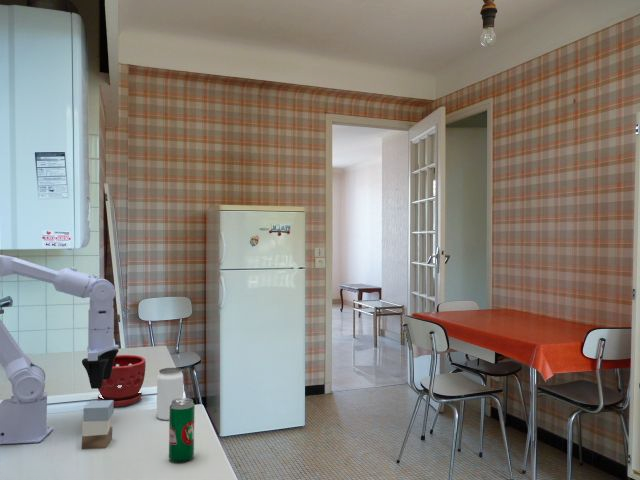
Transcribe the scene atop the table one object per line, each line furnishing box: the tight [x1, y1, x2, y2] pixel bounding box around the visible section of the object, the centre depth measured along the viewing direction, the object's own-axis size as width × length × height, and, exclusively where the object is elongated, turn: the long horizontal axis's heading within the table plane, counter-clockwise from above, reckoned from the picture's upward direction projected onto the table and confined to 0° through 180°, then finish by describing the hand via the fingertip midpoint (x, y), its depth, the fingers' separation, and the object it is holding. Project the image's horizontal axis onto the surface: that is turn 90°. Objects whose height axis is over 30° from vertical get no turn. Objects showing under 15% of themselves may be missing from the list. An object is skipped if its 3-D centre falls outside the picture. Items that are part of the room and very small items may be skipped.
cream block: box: [81, 416, 112, 437], centre depth 109 cm, size 5×5×3 cm
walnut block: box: [81, 426, 113, 450], centre depth 109 cm, size 5×5×3 cm
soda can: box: [168, 397, 196, 464], centre depth 103 cm, size 5×5×12 cm
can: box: [156, 367, 184, 421], centre depth 127 cm, size 6×6×12 cm
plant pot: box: [97, 354, 146, 408], centre depth 138 cm, size 13×13×12 cm
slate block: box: [82, 400, 114, 423], centre depth 110 cm, size 5×5×3 cm
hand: (100, 383), depth 120 cm, fingers open, 7 cm apart
